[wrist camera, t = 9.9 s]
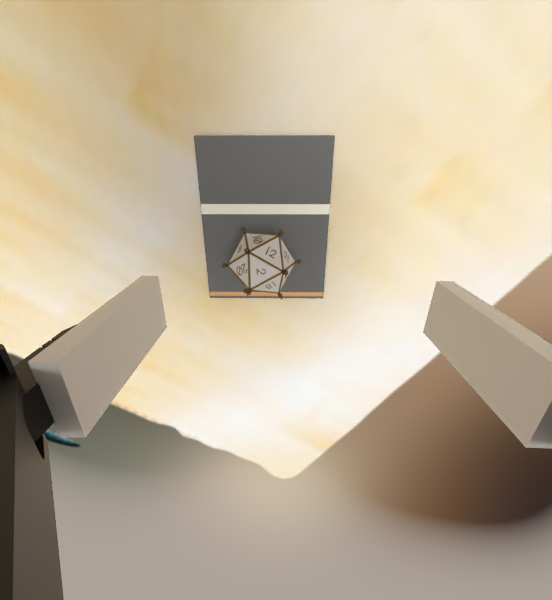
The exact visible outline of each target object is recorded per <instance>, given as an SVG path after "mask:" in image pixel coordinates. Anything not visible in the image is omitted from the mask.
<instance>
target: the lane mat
mask: <svg viewBox="0 0 552 600" xmlns="http://www.w3.org/2000/svg"><path fill="white" fill-rule="evenodd" d="M334 137H335V136H194V140H195V150H196V160H197V170H198V180H199V191H200V201H201V213H202V221H203V231H204V241H205V252H206V262H207V272H208V282H209V293H210V298H279V296H278V294H277V293H267V292H258V291H251V294H250V295H248V296H247V294H246V293H244V289H245V288H246V287H245V286H244V285H243V284H242V283H241V281H240V280H239V279H238V278H237V277H236V276H235V274H234V273H233V272H232V271H231V270H230V268H229V267H226V268H225V267H224V268H223V267H222V266H220V265H221V264H223V263H226V264H228V262H229V261H230V259H231V257H232V255H233V253H234V251H235V249H236V248H237V246H238V244H239V242H240V240H241V238H242V236H243V235H244V233H243V232H242V230H241V226H242V227H244V228H245V230H246V232H249V233H263V234H277V235H278V232H279V230H282V229H283V234H282V235H281V238H282V240H283V241H284V243H285V245H286V246H287V248H288V249H289V251H290V253H291V254H292V256H293V258H294V259H295V260H297V259H298V260H299V259H300V260H301V261H302V262H301V263H300V264H299V263H298V264H297V263H295V265H294V267H293V269H292V271H291V272H290V274H289V276H288V278H287V280H286V282H285V284H284V286H283V287H282V289H281V291H280V293H281V294H282V295H283V296H282V298H323V292H324V278H325V264H326V250H327V235H328V221H329V209H330V193H331V179H332V165H333V151H334Z"/></svg>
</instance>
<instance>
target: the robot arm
mask: <svg viewBox="0 0 552 600" xmlns="http://www.w3.org/2000/svg"><path fill="white" fill-rule="evenodd" d="M166 327H167V326H166V320H165V314H164V308H163V302H162V296H161V290H160V284H159V279H158V276H141V277H140V278H139V279H137V280H136V281H135V282H133V283H132V284H131V285H129V286H128V287H127V288H125V289H124V290H123V291H121V292H120V293H119V294H117V295H116V296H115V297H113V298H112V299H111V300H109V301H108V302H107V303H105V304H104V305H103V306H101V307H100V308H99V309H97V310H96V311H95V312H93V313H92V314H91V315H89V316H88V317H87V318H85V319H84V320H83V321H81V322H80V323H79V324H77V325H74V326H72V327H70V328H68V329H66V330H63V331H62V332H61V333H59V334H58V335H56V336H55V337H54V338H52V341H48V342H47V343H45V344H44V345H43V346H42V348H39V349H37V350H36V351H34V352H33V353H32V354H30V355H29V356H28V357H26V358H25V359H23V360H22V361H21V362H19V363H18V364H17V365H15V366H14V367H13V365H12V363H11V360H10V358H9V356H8V354H7V352H6V349H5V347H4V346H3V345H2V344H0V600H63V590H62V580H61V571H60V560H59V550H58V541H57V530H56V520H55V511H54V500H53V490H52V481H51V471H50V462H49V451H48V442H47V440H46V437H45V435H44V433H45V431H46V430H47V429H48V428H49V427H50V426H51V425H52V424H53V423H54V424H55V427H56V429H57V431H58V434H59V436H60V437H80V438H85V437H86V436H87V435H88V433H89V432H90V430H91V429H92V428H93V426H94V425H95V424H96V422H97V421H98V420H99V418H100V417H101V416H102V414H103V413H104V411H105V410H106V409H107V407H108V406H109V405H110V403H111V402H112V401H113V399H114V398H115V397H116V395H117V394H118V392H119V391H120V390H121V388H122V387H123V386H124V384H125V383H126V382H127V380H128V379H129V378H130V376H131V375H132V373H133V372H134V371H135V369H136V368H137V367H138V365H139V364H140V363H141V361H142V360H143V358H144V357H145V356H146V354H147V353H148V352H149V350H150V349H151V348H152V346H153V345H154V344H155V342H156V341H157V339H158V338H159V337H160V335H161V334H162V333H163V331H164V330H165V329H166ZM423 332H424V334H425V335H426V336H427V337H428V338H429V339H430V340H431V341H432V342H433V344H434V345H435V346H436V347H437V348H438V349H439V350H440V351H441V353H442V354H443V355H444V356H445V357H446V358H447V359H448V360H449V362H450V363H451V364H452V365H453V366H454V367H455V368H456V369H457V370H458V372H459V373H460V374H461V375H462V376H463V377H464V378H465V380H467V382H468V383H469V384H470V385H471V386H472V387H473V388H474V390H475V391H476V392H477V393H478V394H479V395H480V396H481V398H482V399H483V400H484V401H485V402H486V403H487V404H488V405H489V406H490V408H491V409H492V410H493V411H494V412H495V413H496V414H497V416H498V417H499V418H500V419H501V420H502V421H503V422H504V423H505V425H507V427H508V428H509V429H510V430H511V431H512V432H513V433H514V435H515V436H516V437H517V438H518V439H519V440H520V441H521V442H522V444H523V445H524V446H525V447H526V448H552V344H551V343H549V342H548V341H546V340H545V339H543V338H541V337H539V336H538V335H536V334H535V333H533V332H531V331H530V330H528V329H527V328H525V327H524V326H522V325H520V324H519V323H517V322H516V321H514V320H512V319H511V318H509V317H508V316H506V315H505V314H503V313H502V312H500V311H498V310H497V309H495V308H494V307H492V306H491V305H489V304H487V303H486V302H484V301H483V300H481V299H480V298H478V297H476V296H475V295H473V294H472V293H470V292H469V291H467V290H465V289H464V288H462V287H461V286H459V285H458V284H456V283H454V282H449V281H437V282H436V285H435V289H434V293H433V297H432V300H431V304H430V308H429V312H428V316H427V319H426V323H425V327H424V331H423Z"/></svg>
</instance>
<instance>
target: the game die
mask: <svg viewBox="0 0 552 600" xmlns="http://www.w3.org/2000/svg"><path fill="white" fill-rule="evenodd" d="M241 230H242V232H243V233H244V235H243V236H242V238H241V240H240V242H239V244H238V246H237V248H236V249H235V251H234V253H233V255H232V257H231V259H230V261H229V262H228V264H226V263H223V264H221V265H220V266H222V267H223V268H224V267H225V268H226V267H229V268H230V270H231V271H232V272H233V273H234V274H235V276H236V277H237V278H238V279H239V280H240V281H241V283H242V284H243V285H244V286H245V287H246V288H245V289H244V293H246V294H247V296H248V295H250V294H251V291H258V292H267V293H277V294H278V296H279V298H281V299H282V296H283V295H282V294H281V293H280V291H281V289H282V287H283V286H284V284H285V282H286V280H287V278H288V276H289V274H290V272H291V271H292V269H293V267H294V265H295V263H297V264H298V263H299V264H300V263H301V262H302V261H301V260H300V259H299V260H298V259H297V260H295V259H294V258H293V256H292V254H291V253H290V251H289V249H288V248H287V246H286V245H285V243H284V241H283V240H282V238H281V235H282V234H283V229H282V230H279V232H278V235H277V234H263V233H249V232H246V230H245V228H244V227H242V226H241Z"/></svg>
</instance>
